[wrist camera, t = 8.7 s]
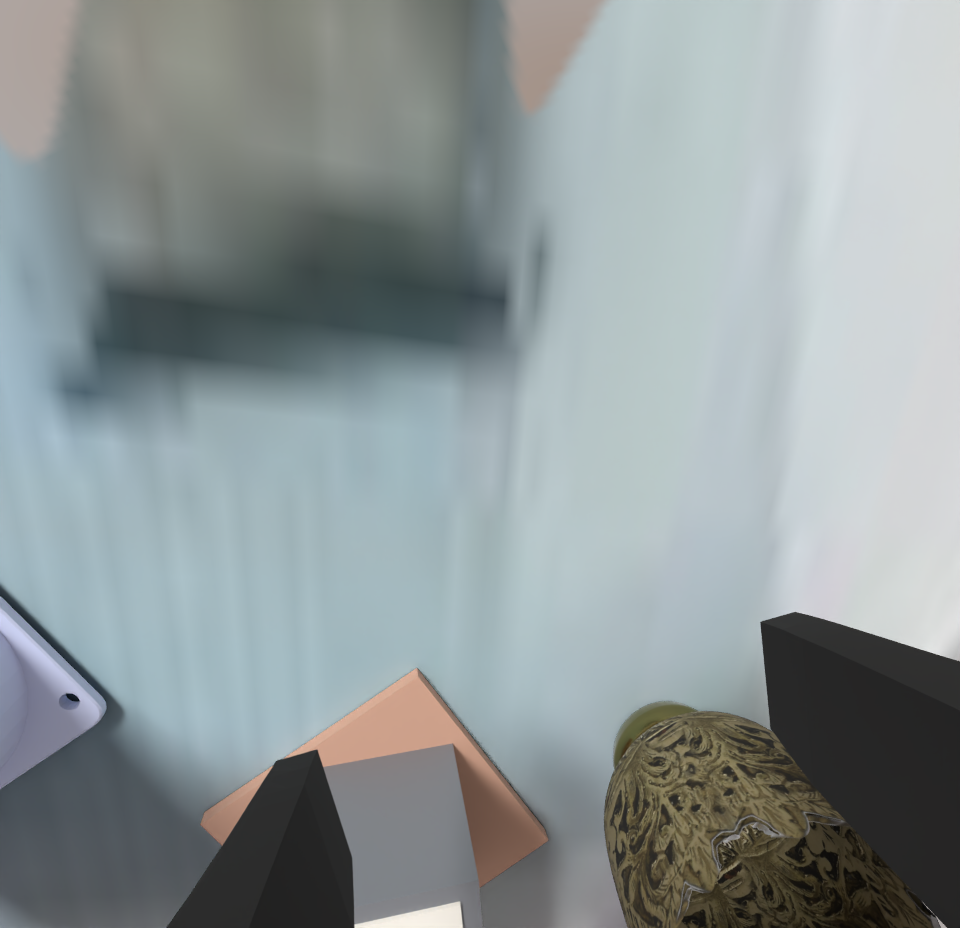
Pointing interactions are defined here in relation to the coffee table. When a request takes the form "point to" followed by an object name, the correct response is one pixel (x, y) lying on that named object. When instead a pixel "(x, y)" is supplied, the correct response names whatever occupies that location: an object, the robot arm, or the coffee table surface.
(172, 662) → the coffee table surface
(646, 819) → the cup
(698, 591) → the coffee table surface
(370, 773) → the letter block
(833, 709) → the robot arm
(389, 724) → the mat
